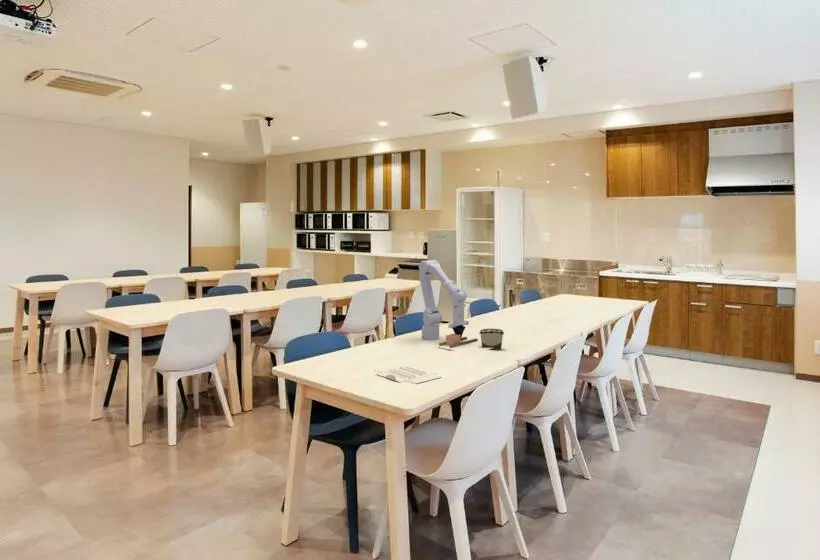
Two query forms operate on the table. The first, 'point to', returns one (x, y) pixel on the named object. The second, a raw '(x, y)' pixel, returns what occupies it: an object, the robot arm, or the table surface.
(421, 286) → the robot arm
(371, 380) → the table surface
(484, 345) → the food container
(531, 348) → the table surface
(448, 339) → the block
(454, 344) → the chute
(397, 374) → the white printed sheet
